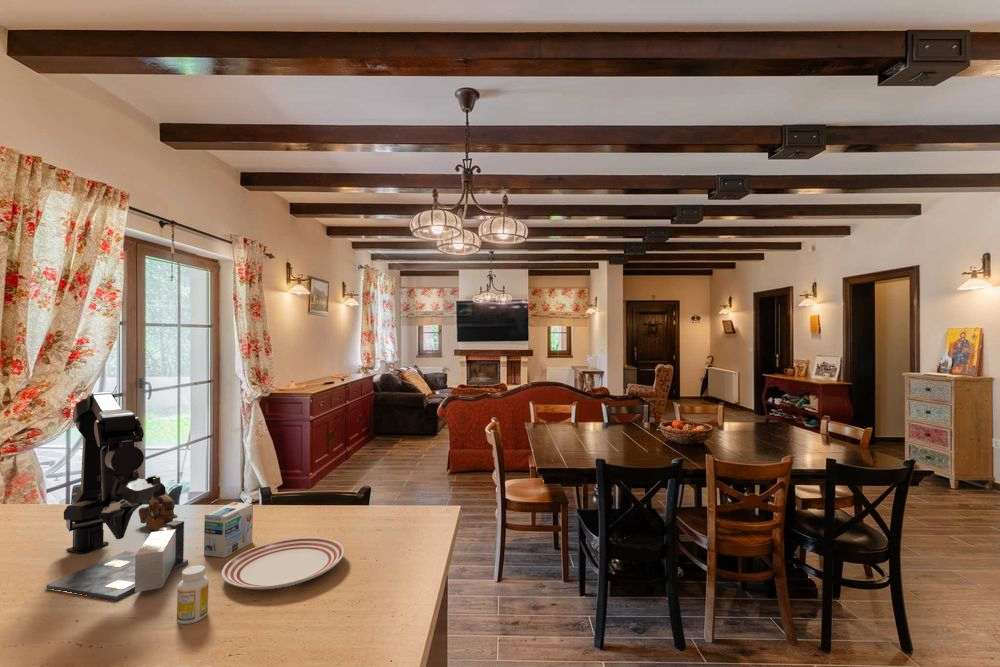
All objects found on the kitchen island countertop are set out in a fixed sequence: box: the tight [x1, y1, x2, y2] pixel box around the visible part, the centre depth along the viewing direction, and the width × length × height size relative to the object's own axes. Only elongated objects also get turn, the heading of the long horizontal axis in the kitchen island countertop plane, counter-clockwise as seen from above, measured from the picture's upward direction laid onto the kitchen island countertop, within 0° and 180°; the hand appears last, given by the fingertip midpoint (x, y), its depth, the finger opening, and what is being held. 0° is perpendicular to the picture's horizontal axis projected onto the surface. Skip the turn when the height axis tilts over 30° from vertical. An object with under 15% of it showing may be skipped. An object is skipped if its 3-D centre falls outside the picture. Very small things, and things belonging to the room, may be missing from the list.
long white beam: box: [134, 527, 176, 593], centre depth 113 cm, size 5×16×8 cm, turn 24°
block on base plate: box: [45, 519, 189, 602], centre depth 115 cm, size 20×19×10 cm
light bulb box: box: [203, 501, 254, 559], centre depth 130 cm, size 11×7×11 cm, turn 168°
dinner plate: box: [220, 536, 345, 590], centre depth 118 cm, size 27×27×3 cm
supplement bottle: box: [176, 564, 210, 625], centre depth 98 cm, size 5×5×10 cm
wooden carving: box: [138, 494, 178, 531], centre depth 143 cm, size 16×5×10 cm, turn 67°
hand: (119, 538), depth 109 cm, fingers closed
